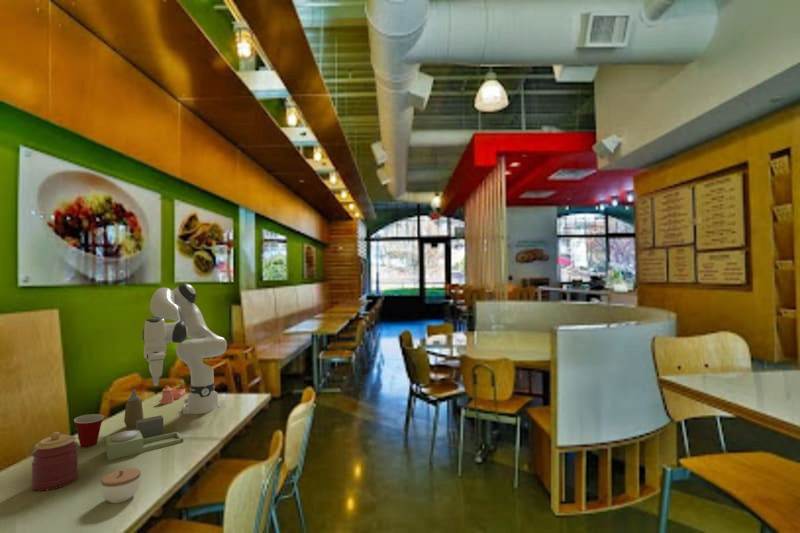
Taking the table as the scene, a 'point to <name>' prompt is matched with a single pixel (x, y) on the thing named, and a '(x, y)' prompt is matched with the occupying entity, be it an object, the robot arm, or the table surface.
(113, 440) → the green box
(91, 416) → the plastic cup
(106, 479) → the lidded jar
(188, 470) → the table surface
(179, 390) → the pottery
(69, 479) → the canister
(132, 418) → the squeeze bottle
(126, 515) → the table surface
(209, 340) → the robot arm
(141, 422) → the tall grey box
